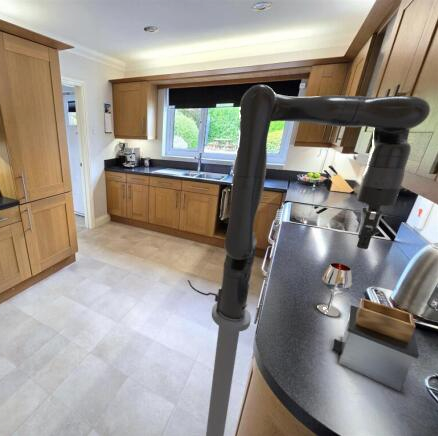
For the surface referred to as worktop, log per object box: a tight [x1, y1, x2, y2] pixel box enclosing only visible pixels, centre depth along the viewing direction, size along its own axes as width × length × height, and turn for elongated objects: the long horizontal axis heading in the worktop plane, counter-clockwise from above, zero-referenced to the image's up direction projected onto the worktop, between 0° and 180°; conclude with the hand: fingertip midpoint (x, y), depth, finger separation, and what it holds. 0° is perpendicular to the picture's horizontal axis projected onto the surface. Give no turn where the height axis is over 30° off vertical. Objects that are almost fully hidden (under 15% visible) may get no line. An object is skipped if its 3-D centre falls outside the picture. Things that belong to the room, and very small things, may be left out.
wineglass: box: [317, 262, 353, 318], centre depth 85 cm, size 8×8×18 cm
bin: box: [331, 304, 420, 392], centre depth 66 cm, size 14×13×12 cm
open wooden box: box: [356, 297, 416, 343], centre depth 63 cm, size 10×6×5 cm, turn 49°
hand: (362, 243), depth 67 cm, fingers open, 8 cm apart
